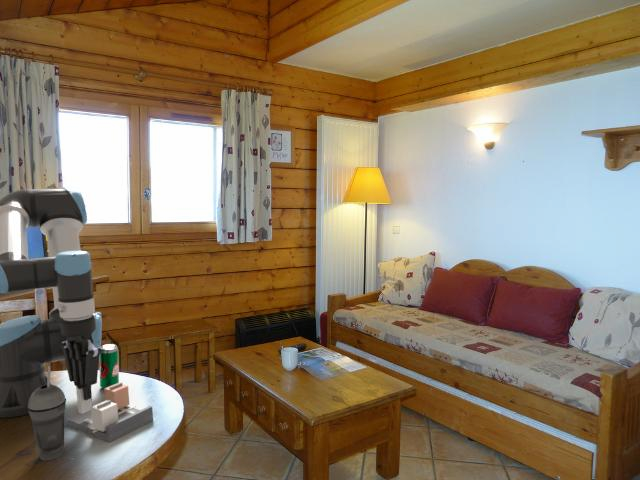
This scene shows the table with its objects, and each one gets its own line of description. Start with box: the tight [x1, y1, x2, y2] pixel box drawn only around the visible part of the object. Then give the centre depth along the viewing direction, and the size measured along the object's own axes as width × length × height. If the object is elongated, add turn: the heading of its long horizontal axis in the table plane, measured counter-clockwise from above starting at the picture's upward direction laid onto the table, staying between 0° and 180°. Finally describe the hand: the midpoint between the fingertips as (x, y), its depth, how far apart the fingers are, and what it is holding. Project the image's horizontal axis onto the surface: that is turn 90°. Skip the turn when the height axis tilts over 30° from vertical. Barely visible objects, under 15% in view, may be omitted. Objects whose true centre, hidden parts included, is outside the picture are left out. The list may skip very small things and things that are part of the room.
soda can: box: [98, 343, 120, 390], centre depth 140 cm, size 5×5×12 cm
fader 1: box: [103, 382, 130, 410], centre depth 124 cm, size 4×4×6 cm
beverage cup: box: [28, 365, 67, 462], centre depth 104 cm, size 7×7×20 cm
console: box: [66, 405, 154, 443], centre depth 119 cm, size 17×14×4 cm
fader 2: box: [91, 400, 118, 432], centre depth 113 cm, size 4×4×6 cm
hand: (85, 410), depth 118 cm, fingers closed
